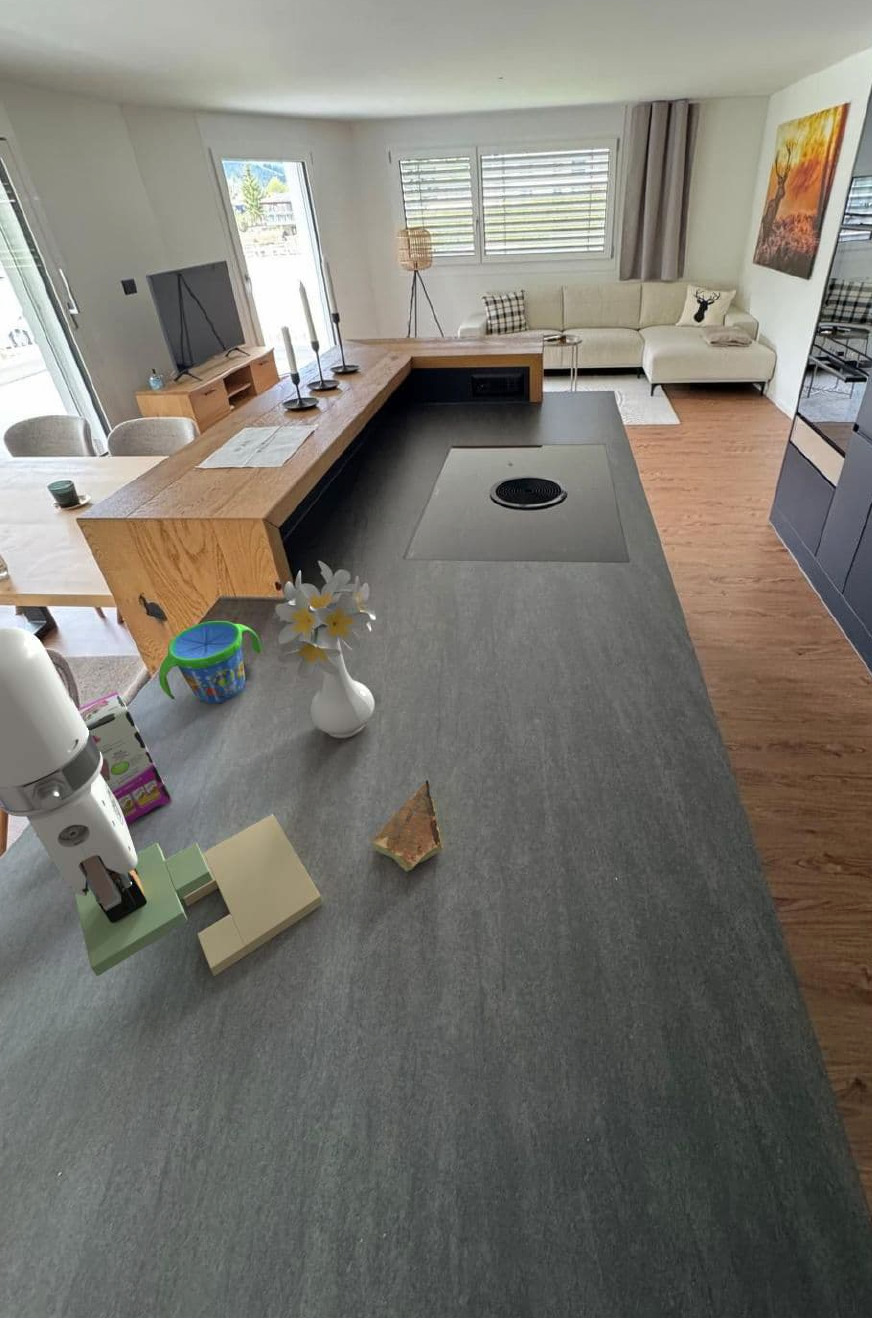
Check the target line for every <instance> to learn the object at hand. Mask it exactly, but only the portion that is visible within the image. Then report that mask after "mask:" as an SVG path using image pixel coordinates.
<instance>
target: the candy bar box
mask: <svg viewBox="0 0 872 1318" xmlns="http://www.w3.org/2000/svg"><path fill="white" fill-rule="evenodd" d="M77 710H78V712H79V714H80V715H81V717H82V719H83V721H84V723H85V725H86V726H87V728H88V730H89V732H90V734H91V736H92V737H93V739H94V741H95V743H96V745H97V747H98V749H99V751H100V752H101V754H102V757H103V765H102V768H101V771H100V774H101V776H102V777H103V779H104V781H105V782H106V784H107V785H108V787H109V789H110V790H111V792H112V793H113V795H114V796H115V798H116V800H117V802H118V803H119V805H120V808H121V810H122V813H123V816H124V818H125V821H126V824H127V826H128V825H130V824H131V823H134V822H136V821H137V820H139V819H141V818H143V817H144V816H147V814H148V815H149V813H151V812H153V811H155V810H157V809H158V808H161V807H163V806H164V805H166V804H169V802H171V801H172V798H171V797H172V796H171V795H170V793H169V791H168V788H167V786H166V784H165V782H164V780H163V777H162V776H161V773H160V771H159V770H158V768H157V765H156V763H155V762H154V760H153V757H152V755H151V753H150V751H149V749H148V747H147V745H146V743H145V741H144V739H143V737H142V735H141V733H140V731H139V729H138V727H137V725H136V723H135V721H134V719H133V717H132V715H131V713H130V711H129V709H128V707H127V705H126V703H125V702H124V700H123V698H122V696H121V694H120V693H119V691H118V690H117V691H115V692H112V693H110V694H108V695H106V696H104V697H101V698H99V699H97V700H93V701H92V702H89V703H88V704H85V705H83V706H80V707H77Z"/></svg>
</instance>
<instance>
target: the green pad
mask: <svg viewBox="0 0 872 1318" xmlns="http://www.w3.org/2000/svg"><path fill="white" fill-rule="evenodd" d="M202 853H203V852H202V851H201V848H200V847H199V845H198V843H197V842H195V843H193V844H191V845H190V846H187V847H186V848H184V849H182V850H181V851H179V852H177V853H175V854H173V855H171V856H170V857H168V858H166V859H165V856H164V853H163V850H162V849H161V847H160V845H159V843H158V842H155V843H152V845H149V846H148V847H146V848H144V849H142V850H140V851H138V852H136V855H137V860H138V861H137V865H136V867H135V868H136V870H137V873H138V875H137V874H136V872H135V871H134V870H131V871H130V872H128V873H127V874H128V876H131V875H133V877H134V878H135V880H136V882H137V884H138V885H139V887H140V889H141V890H142V892H143V894H144V896H145V897H146V900H147V903H146V905H145V906H143V907H141V908H140V909H138V910H136V911H134V912H133V913H131V914H129V915H128V916H126V917H124V918H122V919H121V920H119V921H117V922H115V923H111V922H110V921H109V919H108V918H107V916H106V915H105V913H104V912H103V910H102V909H101V907H100V906H99V904H98V902H97V901H96V899H95V896H94V894H93V893H92V891H91V890H90V888H89V886H88V888H89V892H87V895H86V896H82V895H78V894H76V893H75V892H74V891H73V894H74V898H75V903H76V907H77V911H78V915H79V920H80V921H79V922H80V925H81V930H82V934H83V938H84V943H85V948H86V952H87V956H88V961H89V966H90V969H91V970H92V972H93V973H94V974H95V976H96V977H99V976H101V975H102V974H104V973H106V972H107V971H109V970H111V969H112V968H113V967H115V966H117V965H118V964H120V963H122V962H124V961H125V960H126V959H129V958H130V957H132V956H133V955H135V954H136V953H138V952H139V951H141V950H143V949H144V948H146V947H148V946H149V945H151V944H152V943H154V942H156V941H158V940H159V939H162V937H164V936H166V935H167V934H169V933H170V932H172V931H174V930H176V929H177V928H178V927H181V926H182V925H183V924H185V923H187V922H188V917H187V915H186V912H185V909H184V906H183V905H182V901H181V900H182V899H183V898H184V897H185V896H187V895H189V894H190V893H192V892H194V891H195V890H197V889H199V888H200V887H202V886H204V885H205V884H207V883H209V882H210V881H212V880H213V878H212V876H211V874H210V871H209V869H208V867H207V865H206V862H205V860H204V858H203V855H202ZM110 877H111V879H112V881H114V880H116V879H118V878H119V876H118V874H117V873H116V872H115V873H113V874H111V875H110Z"/></svg>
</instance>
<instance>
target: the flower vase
mask: <svg viewBox="0 0 872 1318" xmlns="http://www.w3.org/2000/svg"><path fill="white" fill-rule="evenodd" d="M317 563H318V566H319V568H320V569H321V571H320V574H321V575H322V577H323V579H324V580H325V583H326V584H324V585H323V586H322V588H321V590H320V591H319V589H318V588H317V587H316V586H315V585H314V584H311V583H305V582H304V583H302V572H301V570H299V571H298V573H297V575H296V578H295V582H294V583H295V584H293V583H292V582H291V581H287V582H286V583H285V585H284V589H283V595H284V598H285V600H287V602H283V603H277V604H276V605H275V608H274V610H275V612H274V613H273V615H272V619H276V618H279V622H280V623H281V622H282V621H285V622H288V623H289V624H287V625H285V626H284V627H283V628H282V629H281V631H280V632H279V635H278V637H277V640H278V642H279V644H280V645H286V644H289V643H290V642H292V641H293V640H294V639H296V638H297V637H298V641H297V642H296V647H297V649H295V650H292V651H288V652H285V653H282V654H280V655H279V656H278V657H277V660H278V661H280V662H283V663H296V662H299V663H298V666H297V669H296V675H297V676H298V677H299V678H300V679H307V678H309V677H311V675H313V673H314V672H315V671H316V667H317V665H318V668H320V670H321V672H322V684H321V687H320V688H319V690H318V691H316V693H315V694H314V696H313V697H312V700H311V702H310V706H309V716H310V721H311V722H312V724H313V725H314V726H315V728H317V729H318V730H320V731H321V732H323V733H326V734H327V735H328V736H330V737H333V738H336V739H347V738H350V737H354V736H355V735H358V734H359V733H361V731H362V730H363V729H364V728H365V726H366V724H367V723H368V721H369V720H370V718H371V717H372V716H373V713H374V711H375V705H376V704H375V699H374V696H373V693H372V692H371V690H370V689H369V688H368V686H366V685H365V684H363V683H361V682H359V681H358V680H354V679H353V678H352V677H351V675H350V674H349V672H348V669H347V667H346V664H345V660H344V656H343V651H342V647H341V642H342V643H343V645H345V647H347V649H349V650H350V651H353V652H357V651H359V650H360V648H361V642H360V638H359V637H358V635H357V633H356V632H355V631H354V630H353V629H359V628H362V627H364V626H365V627H366V628H367V630H368V631H369V632H372V627H371V623H370V621H371V620H372V621H376V619H377V615H376V613H375V610H374V609H373V608H372V607H371V605H370V604H367V603H365V602H367V600H368V598H369V595H370V587H369V584H368V583H367V582H365V583H363V585H362V586H361V582H360V579H359V576H358V575H356V577H355V582H354V583H349V581H350V580H351V574H350V572H349V571H347V570H346V569H339V570H337V571H336V572H335V573H334V574H333V571H332V570H331V568H330V567H329V566H328V565H327V564H325V563H324V562H323V561H322V560H317ZM294 585H295V586H294ZM350 593H352V595H350ZM335 603H336V604H335ZM334 604H335V606H334V607H335V608H334V610H332V609H331V608H328V607H330V606H332V605H334ZM350 611H351V612H350ZM312 636H313V638H312ZM312 639H313V640H312ZM340 640H341V642H340Z"/></svg>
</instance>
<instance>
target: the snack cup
mask: <svg viewBox="0 0 872 1318" xmlns="http://www.w3.org/2000/svg"><path fill="white" fill-rule="evenodd" d="M245 632H247V633H249V634H250V635H251V636H250V637H251V647H252V650H253V651H254V652H255V653H257V654H261V653H262V645H261V641H260V638H259V636H258V635H257V633H256V632H255V631H254V630H252V629H251V628H250V627H248V626H246V625H244V624H240V623H233V622H231V621H226V620H212V621H205V622H201V623H198V624H195V625H192V626H189V627H187V628H185V629H183V630H182V631H181V632H179V633H177V634H176V635H175V636H174V637H173V638H172V639H171V641H170V642H169V644H168V647H167V655H166V656H165V658H164V659H163V661H162V663H161V665H160V667H159V671H158V680H159V685H160V687H161V689H162V690H163V691H164V693H165V694H166V695H167V696H168V697H169V698H170V699H171V700H175V696H174V695H173V694H172V692H171V691H172V690H171V688H170V684H169V681H168V678H167V675H168V674H169V672H170V671H171V669H172V668H173V667H177V668H178V669H179V671H180V673H181V674H182V675H181V676H183V678H184V680H185V682H186V683H187V684H188V686H189V688H190V689H191V691H192V692H193V694H194V696H195V697H196V699H197V700H198V701H199V702H202V703H206V704H223V703H224V702H226V701H229V700H231V699H233V698H235V696H236V695H237V694H239V693H241V692H242V691H244V686H245V683H246V675H245V667H244V666H245V665H244V659H243V652H242V643H243V633H245Z"/></svg>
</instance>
